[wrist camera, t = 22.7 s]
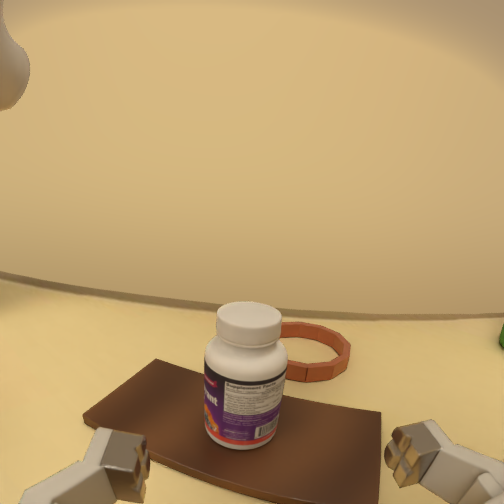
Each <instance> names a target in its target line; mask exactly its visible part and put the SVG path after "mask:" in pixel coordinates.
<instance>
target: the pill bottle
mask: <svg viewBox="0 0 504 504" xmlns="http://www.w3.org/2000/svg"><path fill="white" fill-rule="evenodd" d="M281 323H282V315H281V313H280V312H279V311H278V310H277V309H275V308H274V307H272V306H269V305H266V304H262V303H257V302H246V301H244V302H233V303H228V304H225V305H223V306H221V307H220V308H219V309H218V311H217V322H216V330H217V335H216V336H215V337H213V338H212V339H211V340H210V341H209V343H208V344H207V346H206V350H205V358H204V419H205V428H206V431H207V433H208V434H209V436H210V437H211V438H212V439H213V440H214V441H215V442H217V443H218V444H220V445H222V446H224V447H227V448H231V449H237V450H248V449H254V448H257V447H260V446H262V445H264V444H266V443H267V442H269V441H270V440H271V439H272V437H273V436H274V434H275V431H276V428H277V423H278V418H279V412H280V406H281V400H282V394H283V388H284V383H285V377H286V370H287V362H288V354H287V350H286V348H285V346H284V345H283V344H282V343H281V342H280V341H279V340H278V339H279V338H280V334H281Z"/></svg>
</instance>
